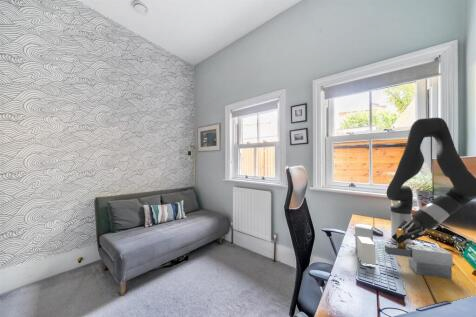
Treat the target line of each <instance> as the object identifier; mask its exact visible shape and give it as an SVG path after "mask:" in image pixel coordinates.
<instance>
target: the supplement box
mask: <svg viewBox="0 0 476 317" xmlns="http://www.w3.org/2000/svg"><path fill="white" fill-rule="evenodd" d="M354 234H355V235H354V237H355V238H354V239H355V240H354V241H355V250H356V251H358V244H357V236H360V237H368V238H370V239H371V240H372V241H373V242H374V228H373V225H369V224H363V223H356V224H355V226H354Z"/></svg>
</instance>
